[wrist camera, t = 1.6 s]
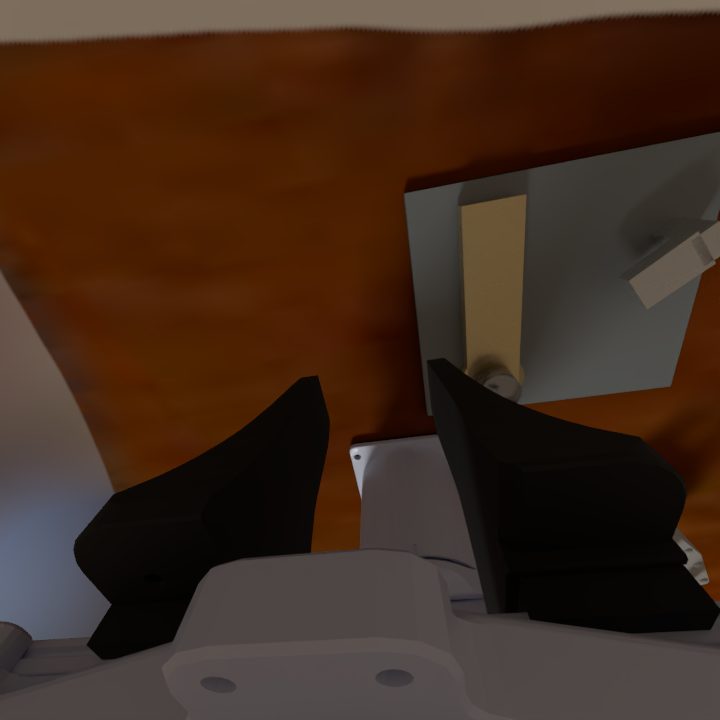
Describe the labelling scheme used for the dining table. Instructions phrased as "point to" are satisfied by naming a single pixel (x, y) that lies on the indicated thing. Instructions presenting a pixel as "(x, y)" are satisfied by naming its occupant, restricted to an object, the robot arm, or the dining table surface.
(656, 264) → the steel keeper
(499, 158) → the dining table surface
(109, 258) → the dining table surface
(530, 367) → the slate board
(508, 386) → the pin cap
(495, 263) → the brass link
